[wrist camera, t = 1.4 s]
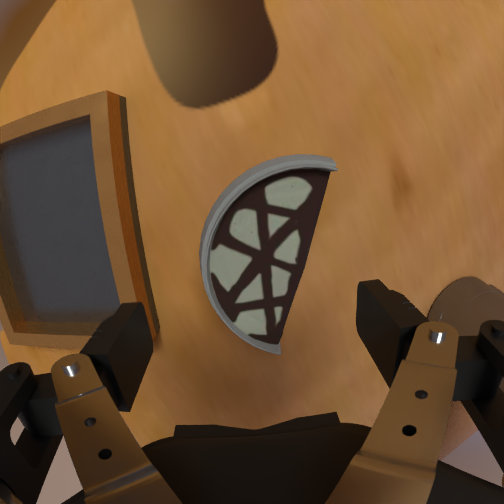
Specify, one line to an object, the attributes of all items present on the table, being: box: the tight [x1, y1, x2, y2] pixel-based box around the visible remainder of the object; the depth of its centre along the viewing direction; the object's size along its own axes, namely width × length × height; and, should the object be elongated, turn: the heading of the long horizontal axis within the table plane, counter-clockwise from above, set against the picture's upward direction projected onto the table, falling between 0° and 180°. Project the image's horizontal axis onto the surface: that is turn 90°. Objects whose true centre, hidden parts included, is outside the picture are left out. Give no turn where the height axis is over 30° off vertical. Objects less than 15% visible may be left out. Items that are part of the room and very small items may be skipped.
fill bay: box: [0, 90, 160, 349], centre depth 25 cm, size 17×21×4 cm
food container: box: [199, 154, 338, 355], centre depth 22 cm, size 12×6×10 cm, turn 166°
